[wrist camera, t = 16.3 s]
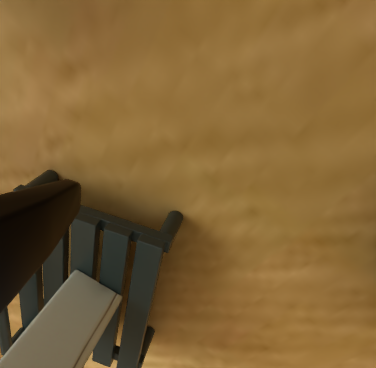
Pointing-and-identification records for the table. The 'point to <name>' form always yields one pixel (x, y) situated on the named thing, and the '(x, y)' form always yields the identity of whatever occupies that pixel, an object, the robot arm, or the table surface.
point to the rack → (102, 277)
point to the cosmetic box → (65, 326)
